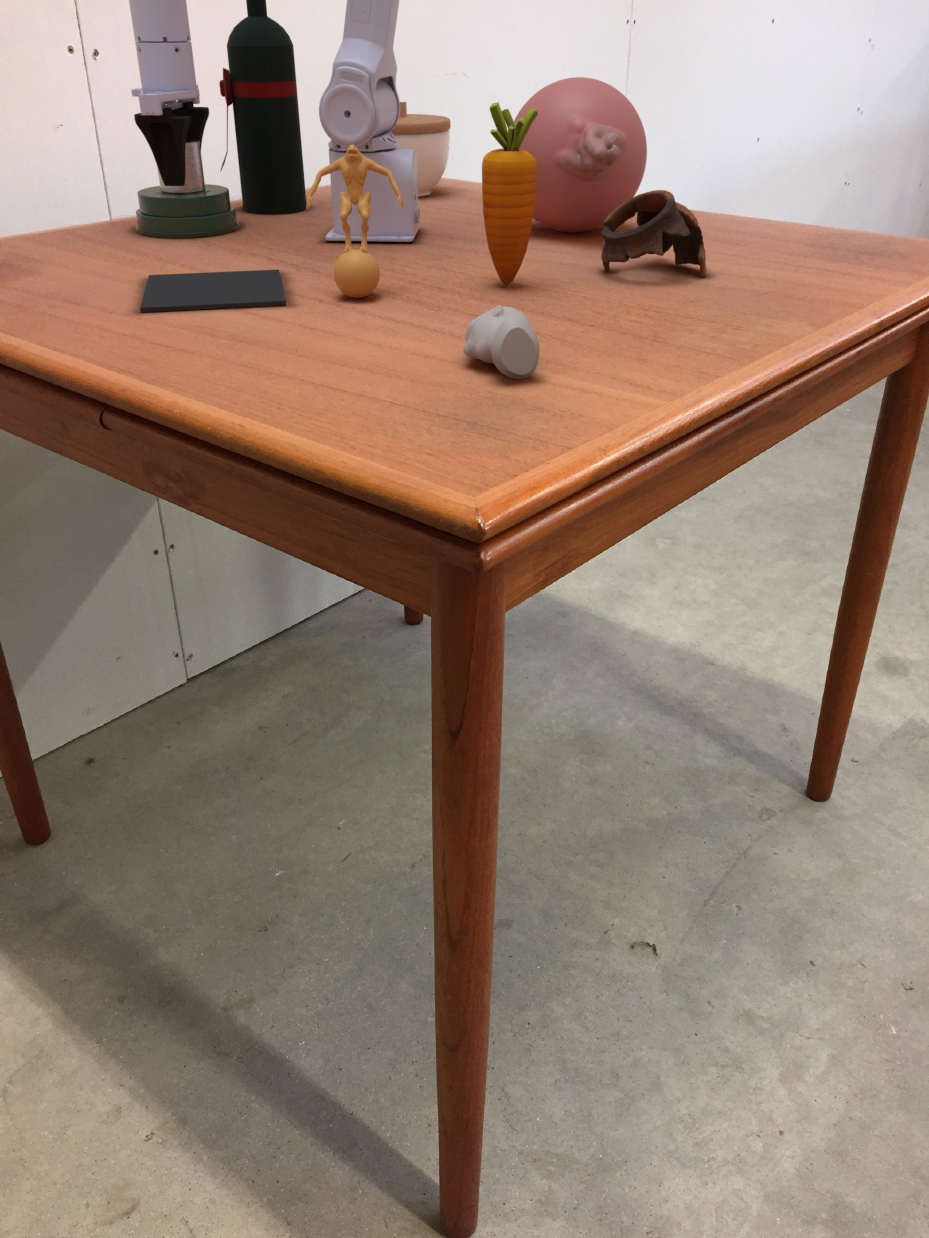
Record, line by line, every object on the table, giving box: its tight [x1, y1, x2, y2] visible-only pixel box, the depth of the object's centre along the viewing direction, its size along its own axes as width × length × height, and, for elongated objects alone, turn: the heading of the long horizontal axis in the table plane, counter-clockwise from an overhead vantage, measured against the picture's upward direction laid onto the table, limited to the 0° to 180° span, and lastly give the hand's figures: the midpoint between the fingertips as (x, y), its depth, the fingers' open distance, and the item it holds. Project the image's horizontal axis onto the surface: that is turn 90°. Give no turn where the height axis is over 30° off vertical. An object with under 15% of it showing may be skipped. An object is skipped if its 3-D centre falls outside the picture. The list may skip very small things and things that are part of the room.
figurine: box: [306, 145, 404, 299], centre depth 86 cm, size 8×6×12 cm
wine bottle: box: [218, 0, 307, 215], centre depth 118 cm, size 8×10×30 cm
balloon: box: [513, 76, 648, 233], centre depth 108 cm, size 15×20×15 cm
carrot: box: [481, 101, 538, 287], centre depth 88 cm, size 5×5×15 cm
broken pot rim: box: [600, 189, 707, 278], centre depth 96 cm, size 12×10×8 cm
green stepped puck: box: [134, 183, 241, 239], centre depth 114 cm, size 12×12×4 cm
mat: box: [139, 269, 287, 313], centre depth 90 cm, size 12×12×1 cm
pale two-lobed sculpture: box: [463, 304, 540, 380], centre depth 71 cm, size 4×8×5 cm
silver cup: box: [156, 138, 206, 194], centre depth 111 cm, size 5×5×5 cm
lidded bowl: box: [391, 101, 451, 198], centre depth 133 cm, size 13×13×11 cm
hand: (182, 182), depth 112 cm, fingers closed on silver cup, 5 cm apart
